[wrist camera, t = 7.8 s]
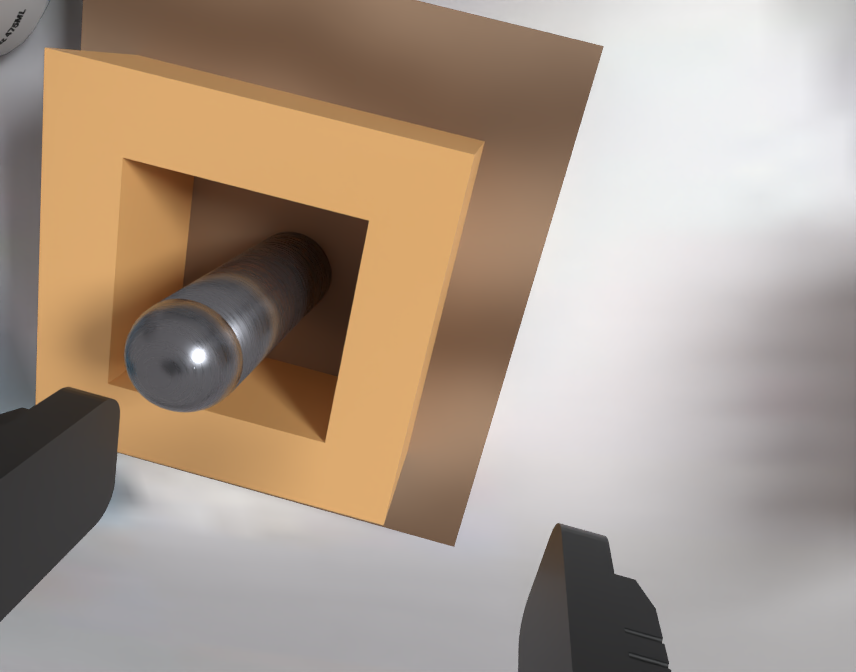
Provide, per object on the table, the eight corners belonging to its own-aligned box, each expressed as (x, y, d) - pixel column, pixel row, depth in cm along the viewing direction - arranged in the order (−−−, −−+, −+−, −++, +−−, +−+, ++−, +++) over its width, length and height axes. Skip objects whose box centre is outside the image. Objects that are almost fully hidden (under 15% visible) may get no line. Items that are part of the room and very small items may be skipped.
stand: (127, -65, 20) (-225, -199, 11) (596, 49, 20) (661, 15, 10) (95, 411, 26) (-153, 599, 16) (459, 512, 25) (419, 767, 16)
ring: (136, 55, 19) (44, 47, 16) (484, 141, 19) (474, 155, 15) (114, 373, 23) (34, 429, 19) (406, 452, 23) (383, 525, 19)
